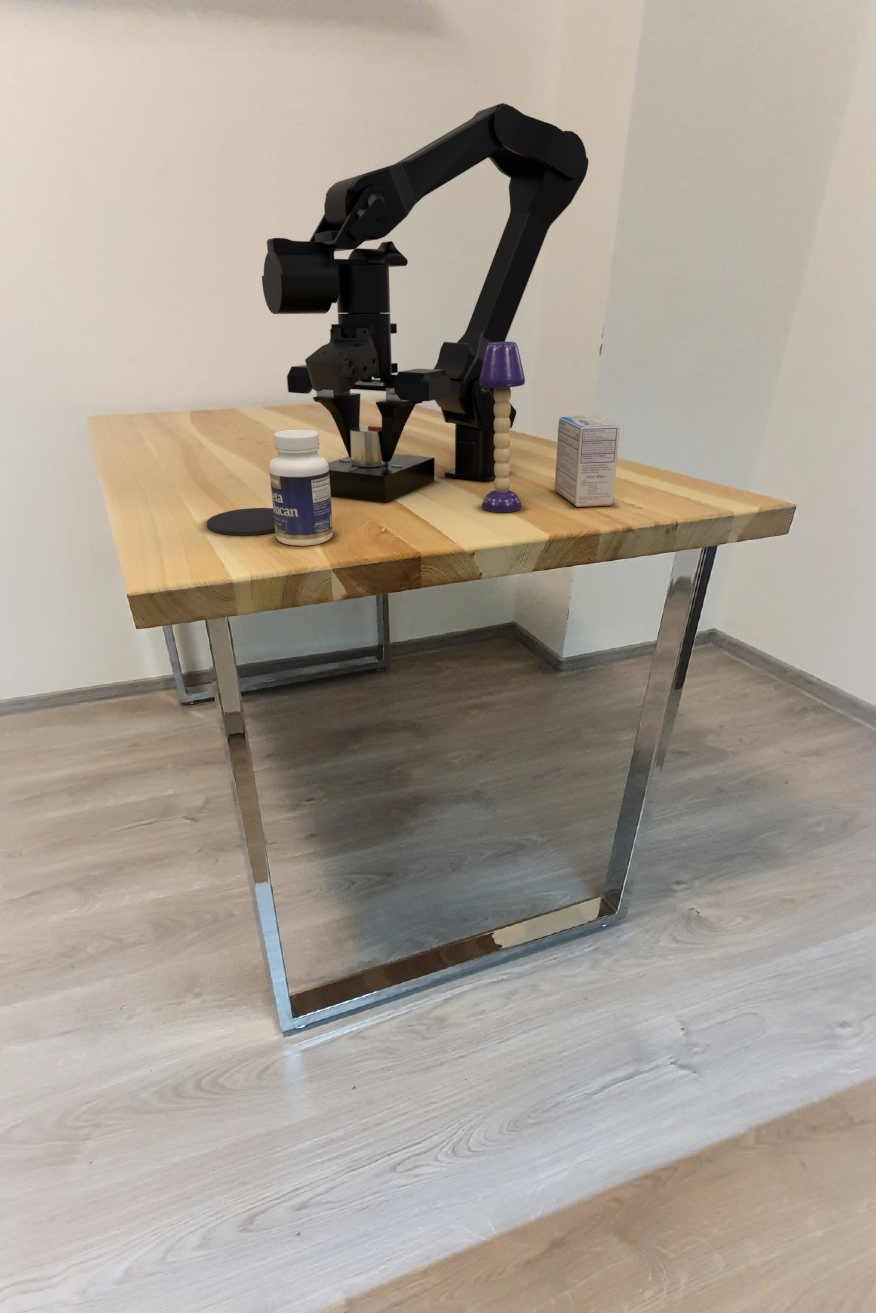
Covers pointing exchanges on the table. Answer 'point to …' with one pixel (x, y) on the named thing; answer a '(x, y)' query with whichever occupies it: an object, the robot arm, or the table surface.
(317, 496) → the pill bottle
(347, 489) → the panel
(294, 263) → the robot arm
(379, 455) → the dial
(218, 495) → the table surface
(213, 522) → the coaster
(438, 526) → the table surface
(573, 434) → the medicine box
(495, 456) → the toy lamp
